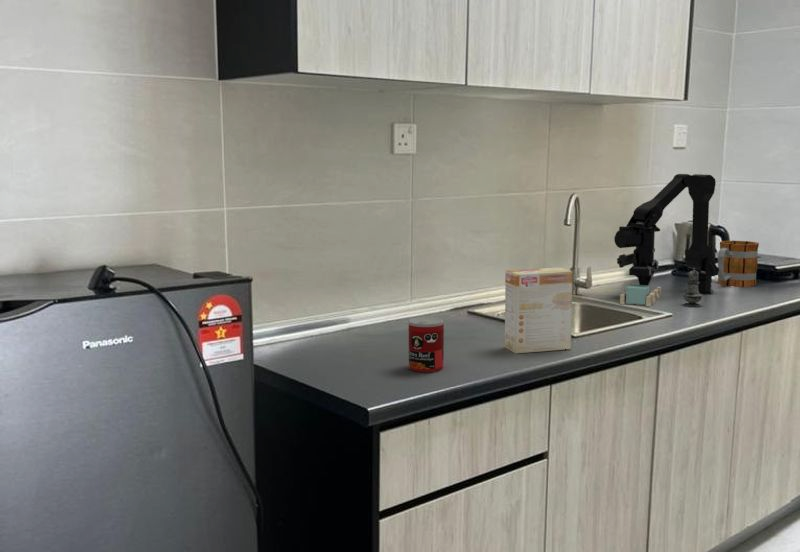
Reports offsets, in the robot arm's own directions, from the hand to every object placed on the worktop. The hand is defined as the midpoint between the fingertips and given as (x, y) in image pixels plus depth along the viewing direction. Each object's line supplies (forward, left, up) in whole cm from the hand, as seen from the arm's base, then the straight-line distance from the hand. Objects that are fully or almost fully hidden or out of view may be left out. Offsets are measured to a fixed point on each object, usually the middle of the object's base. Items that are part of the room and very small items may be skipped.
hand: (643, 293), depth 256 cm
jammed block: (+9, 0, -1) cm, 9 cm away
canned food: (+106, -28, -2) cm, 109 cm away
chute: (+3, 0, -2) cm, 3 cm away
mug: (-40, +24, -2) cm, 47 cm away
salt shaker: (+5, +16, -2) cm, 17 cm away
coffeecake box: (+78, -11, -2) cm, 79 cm away
